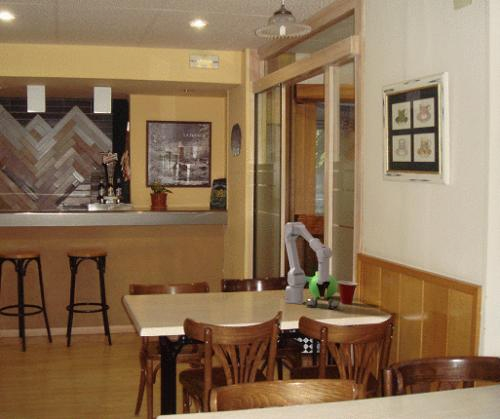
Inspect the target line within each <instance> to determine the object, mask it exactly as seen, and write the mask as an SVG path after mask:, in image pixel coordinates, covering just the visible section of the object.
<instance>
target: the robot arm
mask: <svg viewBox="0 0 500 419" xmlns="http://www.w3.org/2000/svg"><path fill="white" fill-rule="evenodd" d="M283 231H284V242H285V246H286V253H287V259H288V262H289V268H290V269H289V270H288V272H287V283H288V285H287V286H286V287H285V301H284V302H285V303H286V304H297V305H298V304H300V305H302V304H304V303H306V300H304V287H305V285H306V284H307V282H308V281H307V278H306V277H307V276H306V274H305V270H303V269H302V268H301V264H300V259H299V254H298V249H297V243H296V239H297V238H298V237H299V236H301V237H302V238H304V239H305V240H306V241H307V243H309V247H310V248H311V249H312V250H313V251H314V252H315V253H316V254H315V255H316V257H317V262H318V268H317V271H318V283H316V285H317V287H318V290H319V295H320V297H324V295H325V289H326V288H327V290H328V287H329V284H330V282H327V281H331V279H329V275H330V259H331V257H332V255H333V251H332V249H331V248H330V247H329V246H326V245H325V244H323V243H322V242H321V241H320V239H319V238H315V237H313V235H312V234H311V233H310V232H309V231H308V229H307V227H306V225H305V224H304V223H303V222H301V221H295V222H287V223H286V224H285V225H284V227H283Z"/></svg>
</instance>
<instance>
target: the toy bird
mask: <svg viewBox="0 0 500 419" xmlns="http://www.w3.org/2000/svg"><path fill="white" fill-rule="evenodd" d="M306 278H307V282H308V283H309V284H308V289H309V292H310V293H311V294H312V296H315V298H319V290H318V287H317V285H316V283H318V270H317V271H315V275H314V276H306ZM329 279H331V281H327V282H330V284H329V287H328V290H327V298H330V297H332V296H334V295H335V294H336V293H337V292H338V290H339V283H338V281H337V279H336V277H335V276H333V275H332V274H329Z"/></svg>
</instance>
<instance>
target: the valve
mask: <svg viewBox="0 0 500 419" xmlns="http://www.w3.org/2000/svg"><path fill="white" fill-rule="evenodd" d="M318 301H328V297H327V288H326V289H325V295H324V297H320V295H319V297H318Z"/></svg>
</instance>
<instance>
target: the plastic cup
mask: <svg viewBox="0 0 500 419" xmlns="http://www.w3.org/2000/svg"><path fill="white" fill-rule="evenodd" d="M337 283H338V290H339V297H340V303H341V304H342V305H352V304H353V300H354V297H355V291H356V287H357V286H358V283H357V282H354V281H348V280H338V281H337ZM351 303H352V304H351Z"/></svg>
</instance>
